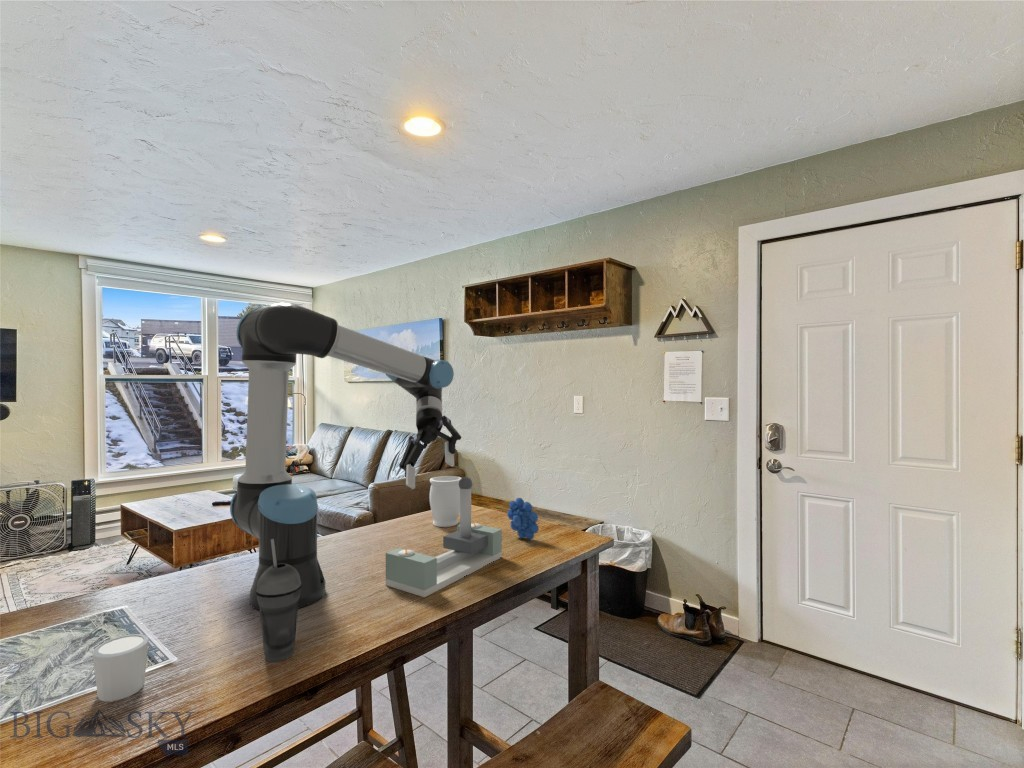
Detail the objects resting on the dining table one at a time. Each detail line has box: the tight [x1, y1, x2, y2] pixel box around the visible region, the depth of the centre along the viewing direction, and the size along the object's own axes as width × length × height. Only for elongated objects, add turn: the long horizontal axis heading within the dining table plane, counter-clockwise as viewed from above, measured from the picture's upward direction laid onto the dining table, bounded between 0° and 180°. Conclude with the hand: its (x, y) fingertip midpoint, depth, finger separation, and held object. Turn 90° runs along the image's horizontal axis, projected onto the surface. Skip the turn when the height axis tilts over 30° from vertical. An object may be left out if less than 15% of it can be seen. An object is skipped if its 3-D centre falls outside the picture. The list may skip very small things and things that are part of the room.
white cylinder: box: [92, 633, 150, 702], centre depth 78 cm, size 7×7×7 cm
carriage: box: [442, 476, 487, 554], centre depth 133 cm, size 7×9×18 cm
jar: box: [429, 475, 462, 528], centre depth 168 cm, size 11×10×15 cm
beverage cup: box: [256, 539, 302, 663], centre depth 88 cm, size 7×7×20 cm
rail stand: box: [385, 522, 503, 598], centre depth 127 cm, size 30×12×8 cm, turn 147°
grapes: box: [506, 497, 539, 540], centre depth 152 cm, size 12×7×12 cm, turn 49°
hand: (429, 475), depth 133 cm, fingers open, 13 cm apart
